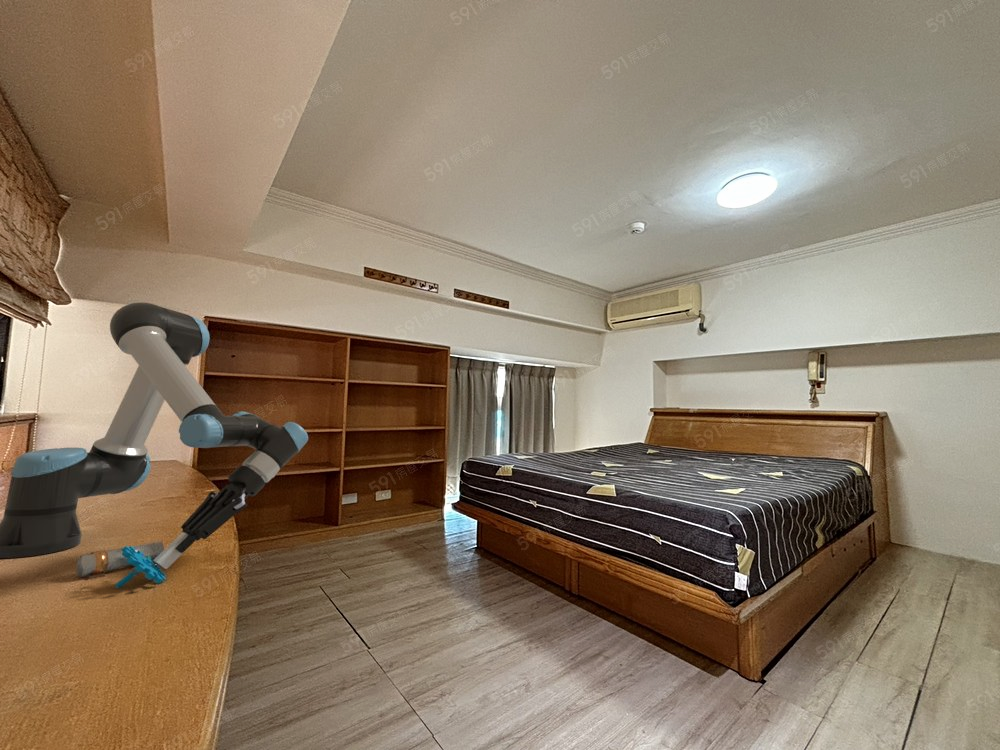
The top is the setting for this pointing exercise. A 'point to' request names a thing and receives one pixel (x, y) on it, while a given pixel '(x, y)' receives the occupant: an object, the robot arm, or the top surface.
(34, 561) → the top surface
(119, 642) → the top surface
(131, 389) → the robot arm
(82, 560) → the guide pipe
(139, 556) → the gear
